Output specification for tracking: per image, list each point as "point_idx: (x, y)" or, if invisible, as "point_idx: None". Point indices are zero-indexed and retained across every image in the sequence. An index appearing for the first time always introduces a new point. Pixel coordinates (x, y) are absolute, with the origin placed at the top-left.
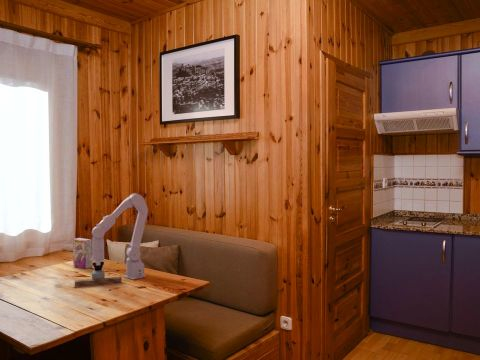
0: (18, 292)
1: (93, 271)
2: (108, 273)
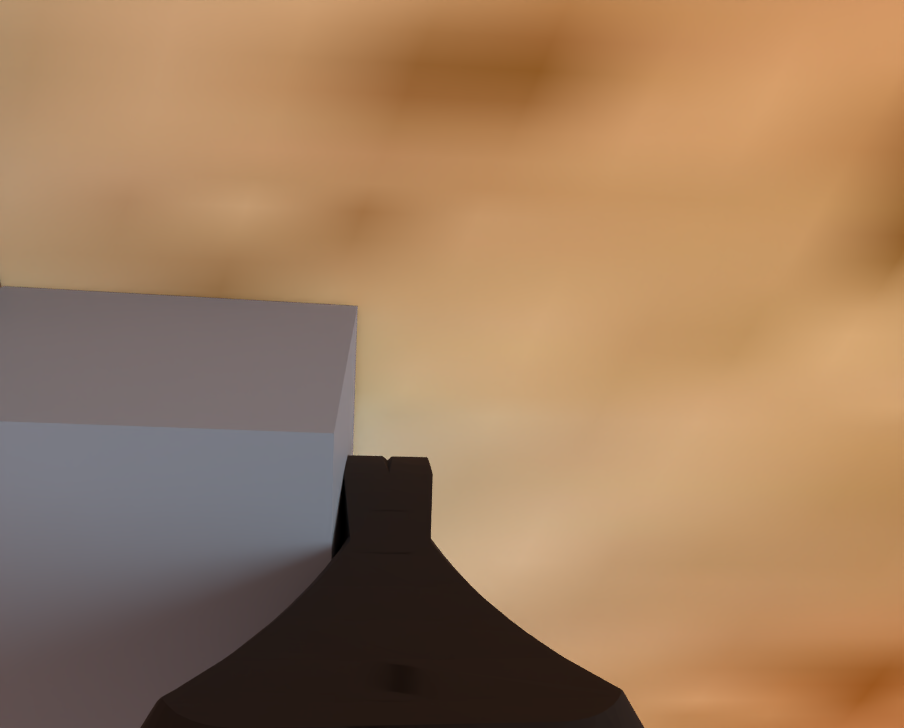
0: None
1: (228, 482)
2: (879, 648)
